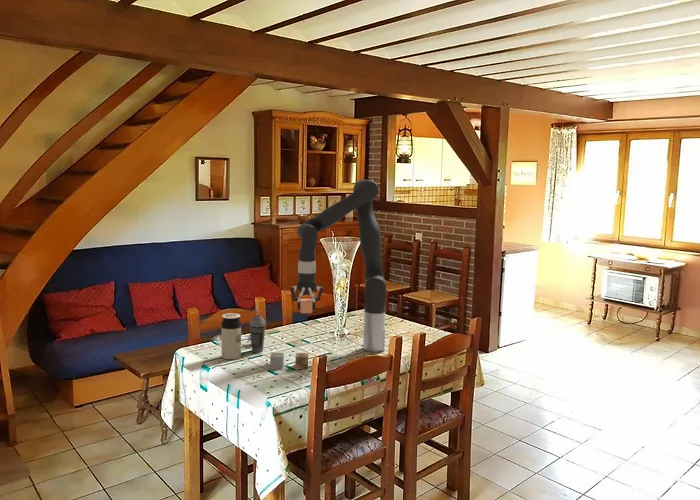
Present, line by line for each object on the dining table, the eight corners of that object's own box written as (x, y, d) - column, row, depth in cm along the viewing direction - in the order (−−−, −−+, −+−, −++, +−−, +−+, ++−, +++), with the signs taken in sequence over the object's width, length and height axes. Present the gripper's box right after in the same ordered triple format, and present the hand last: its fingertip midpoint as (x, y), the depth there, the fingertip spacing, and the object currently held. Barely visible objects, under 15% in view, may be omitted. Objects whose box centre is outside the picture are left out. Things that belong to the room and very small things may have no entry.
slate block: (283, 364, 234) (283, 352, 233) (282, 369, 229) (282, 356, 228) (271, 364, 234) (271, 352, 233) (270, 368, 229) (270, 356, 228)
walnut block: (308, 364, 235) (308, 353, 234) (307, 369, 230) (308, 357, 229) (295, 364, 234) (296, 353, 234) (295, 369, 229) (295, 357, 229)
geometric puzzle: (260, 344, 253) (262, 326, 257) (245, 343, 253) (247, 326, 257) (263, 349, 259) (265, 332, 263) (248, 348, 260) (250, 332, 263)
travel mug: (217, 357, 240) (217, 315, 238) (231, 352, 247) (231, 311, 244) (231, 361, 236) (231, 318, 233) (244, 356, 242) (244, 315, 240)
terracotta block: (312, 310, 248) (312, 299, 247) (312, 313, 243) (312, 301, 242) (300, 310, 247) (301, 298, 247) (300, 313, 243) (300, 301, 242)
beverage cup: (252, 354, 245) (252, 309, 242) (246, 349, 251) (246, 305, 248) (268, 352, 248) (268, 307, 245) (262, 347, 255) (263, 303, 252)
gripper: (324, 269, 247) (323, 308, 249) (290, 269, 246) (290, 308, 248) (323, 273, 239) (323, 312, 242) (289, 272, 239) (289, 312, 241)
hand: (306, 310), depth 245 cm, fingers closed on terracotta block, 5 cm apart
